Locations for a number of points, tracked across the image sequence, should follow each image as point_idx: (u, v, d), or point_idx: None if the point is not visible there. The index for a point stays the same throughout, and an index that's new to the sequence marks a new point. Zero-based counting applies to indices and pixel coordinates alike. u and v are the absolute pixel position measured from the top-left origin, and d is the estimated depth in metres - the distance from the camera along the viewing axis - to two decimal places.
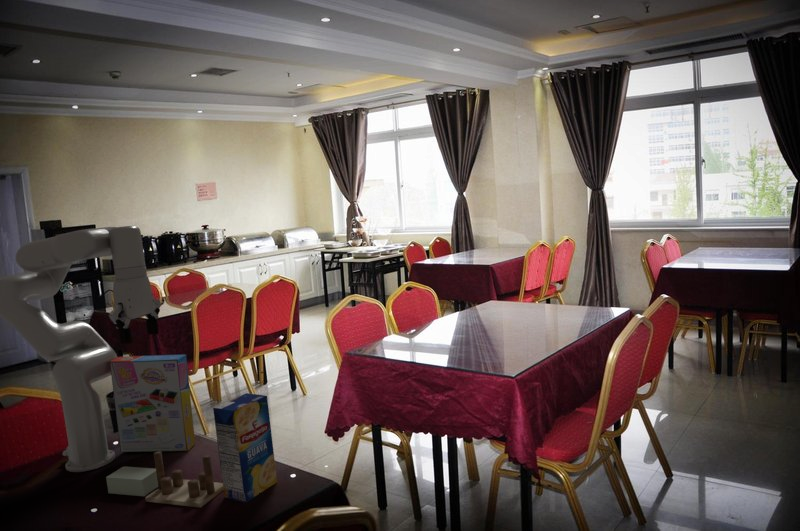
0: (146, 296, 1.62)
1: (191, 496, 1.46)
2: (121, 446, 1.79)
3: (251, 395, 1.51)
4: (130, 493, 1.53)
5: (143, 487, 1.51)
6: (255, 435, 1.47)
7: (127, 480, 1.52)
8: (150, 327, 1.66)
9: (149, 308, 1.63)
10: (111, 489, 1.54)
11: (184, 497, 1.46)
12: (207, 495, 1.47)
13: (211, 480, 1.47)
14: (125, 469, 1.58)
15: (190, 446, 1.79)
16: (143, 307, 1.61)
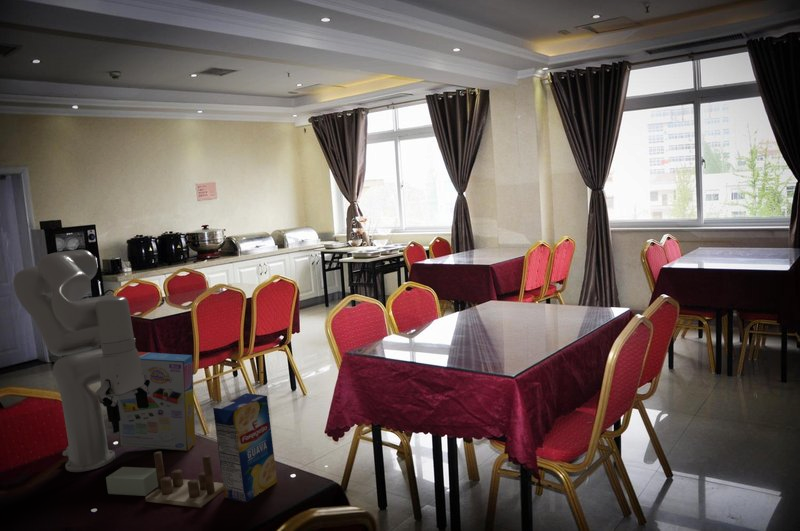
0: (135, 370, 1.54)
1: (191, 496, 1.46)
2: (121, 440, 1.78)
3: (251, 395, 1.51)
4: (131, 492, 1.53)
5: (145, 487, 1.52)
6: (255, 435, 1.47)
7: (127, 480, 1.52)
8: (140, 401, 1.59)
9: (139, 382, 1.56)
10: (111, 489, 1.54)
11: (184, 497, 1.46)
12: (207, 495, 1.47)
13: (211, 480, 1.47)
14: (124, 469, 1.58)
15: (190, 446, 1.79)
16: (131, 381, 1.53)
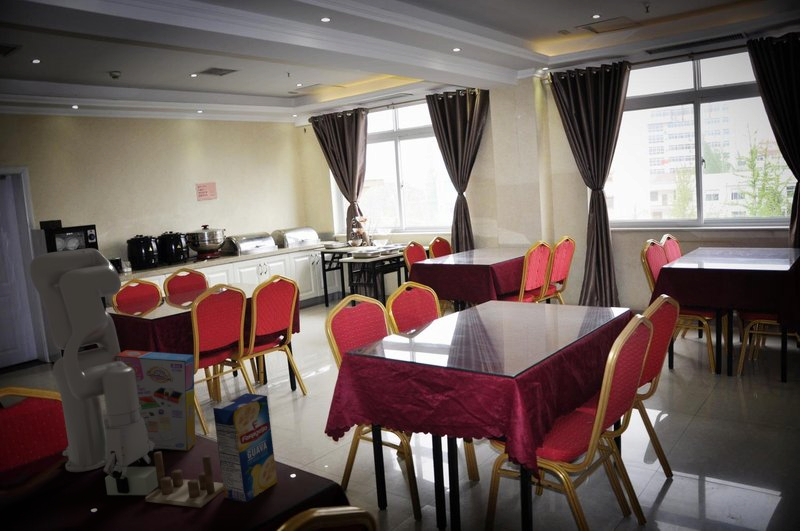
0: (140, 439, 1.55)
1: (191, 496, 1.46)
2: None
3: (251, 395, 1.51)
4: (132, 491, 1.53)
5: (146, 485, 1.52)
6: (255, 435, 1.47)
7: (128, 479, 1.52)
8: None
9: (144, 450, 1.56)
10: (110, 489, 1.54)
11: (184, 497, 1.46)
12: (207, 495, 1.47)
13: (211, 480, 1.47)
14: None
15: (190, 446, 1.79)
16: (137, 451, 1.54)
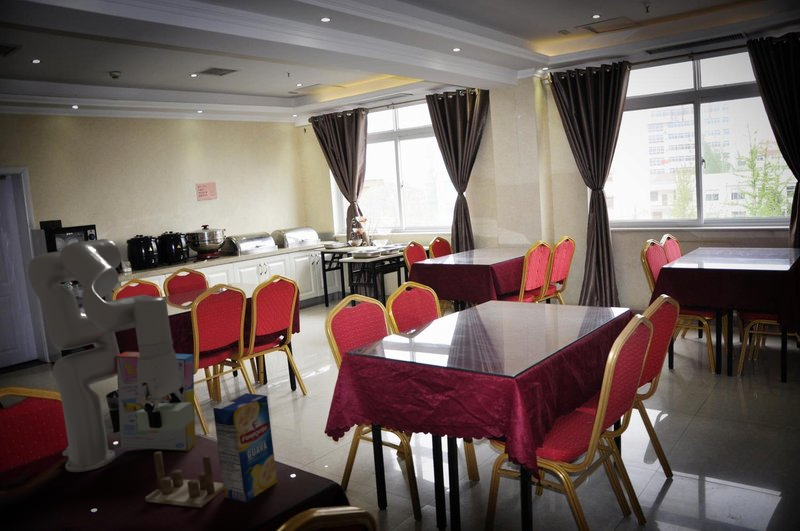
0: (172, 373, 1.49)
1: (191, 496, 1.46)
2: (121, 441, 1.79)
3: (251, 395, 1.51)
4: (164, 426, 1.46)
5: (179, 419, 1.45)
6: (255, 435, 1.47)
7: (160, 413, 1.46)
8: None
9: (176, 385, 1.50)
10: (142, 425, 1.47)
11: (184, 497, 1.46)
12: (207, 495, 1.47)
13: (211, 480, 1.47)
14: None
15: (190, 446, 1.79)
16: (169, 385, 1.48)
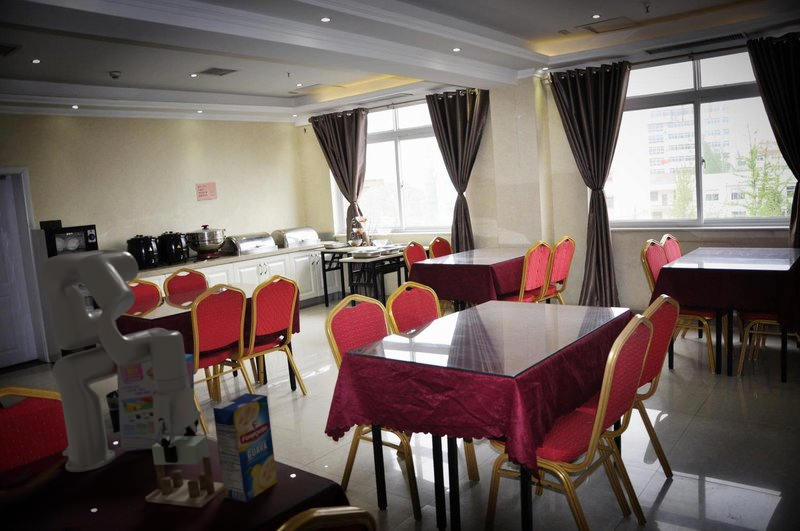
0: (188, 407, 1.49)
1: (191, 496, 1.46)
2: (121, 441, 1.79)
3: (251, 395, 1.51)
4: (180, 461, 1.46)
5: (196, 453, 1.45)
6: (255, 435, 1.47)
7: (176, 447, 1.46)
8: None
9: (191, 419, 1.50)
10: (157, 459, 1.47)
11: (184, 497, 1.46)
12: (207, 495, 1.47)
13: (211, 480, 1.47)
14: None
15: None
16: (185, 419, 1.48)
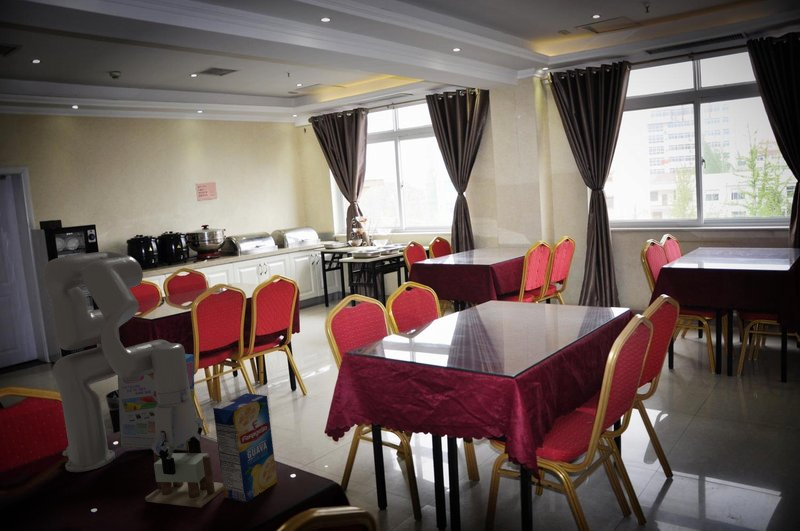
0: (190, 419, 1.49)
1: (191, 496, 1.46)
2: (121, 441, 1.79)
3: (251, 395, 1.51)
4: (181, 479, 1.47)
5: (197, 472, 1.46)
6: (255, 435, 1.47)
7: (178, 465, 1.46)
8: (192, 450, 1.53)
9: (193, 431, 1.50)
10: (159, 476, 1.48)
11: (184, 497, 1.46)
12: (207, 495, 1.47)
13: (211, 480, 1.47)
14: None
15: None
16: (186, 431, 1.48)
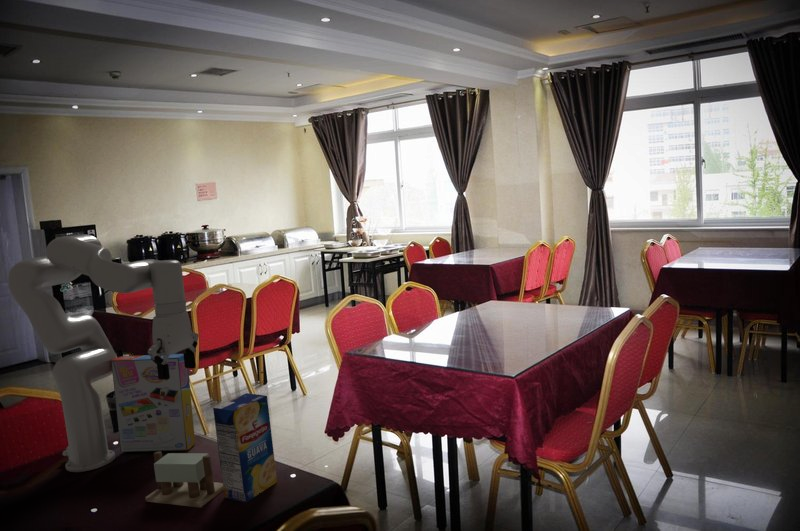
0: (185, 331, 1.60)
1: (191, 496, 1.46)
2: (121, 446, 1.79)
3: (251, 395, 1.51)
4: (181, 479, 1.47)
5: (197, 472, 1.46)
6: (255, 435, 1.47)
7: (178, 465, 1.46)
8: (187, 361, 1.65)
9: (188, 343, 1.62)
10: (159, 476, 1.48)
11: (184, 497, 1.46)
12: (207, 495, 1.47)
13: (211, 480, 1.47)
14: (171, 456, 1.52)
15: (190, 445, 1.79)
16: (181, 342, 1.59)
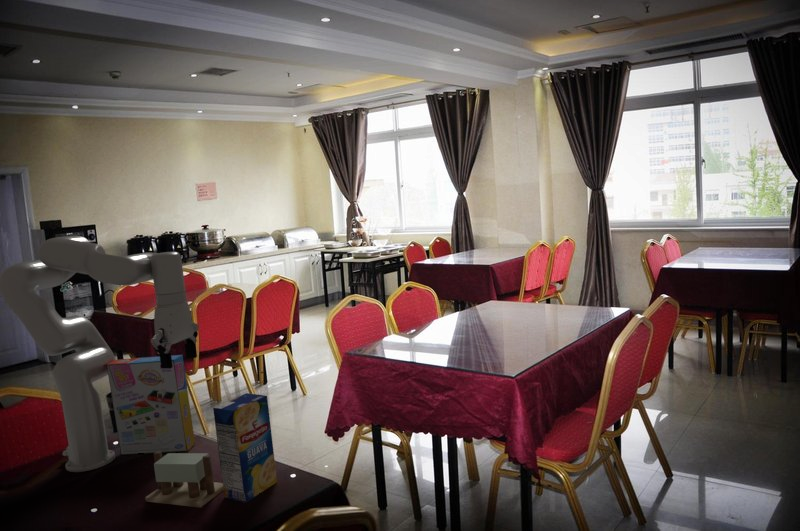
0: (186, 321, 1.64)
1: (191, 496, 1.46)
2: (121, 449, 1.79)
3: (251, 395, 1.51)
4: (181, 479, 1.47)
5: (197, 472, 1.46)
6: (255, 435, 1.47)
7: (178, 465, 1.46)
8: (188, 351, 1.69)
9: (189, 332, 1.65)
10: (159, 476, 1.48)
11: (184, 497, 1.46)
12: (207, 495, 1.47)
13: (211, 480, 1.47)
14: (171, 456, 1.52)
15: (190, 446, 1.79)
16: (183, 331, 1.63)
